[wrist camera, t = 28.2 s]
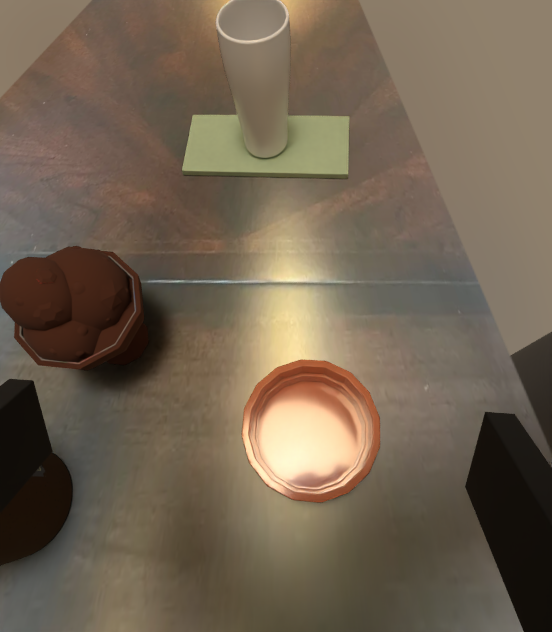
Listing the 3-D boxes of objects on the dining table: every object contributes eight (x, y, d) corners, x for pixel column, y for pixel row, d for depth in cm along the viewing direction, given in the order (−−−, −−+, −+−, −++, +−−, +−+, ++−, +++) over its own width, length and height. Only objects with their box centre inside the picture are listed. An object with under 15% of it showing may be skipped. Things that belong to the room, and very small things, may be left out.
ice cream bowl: (117, 414, 40) (20, 382, 27) (52, 342, 44) (-66, 280, 30) (195, 337, 43) (143, 271, 29) (127, 274, 46) (51, 187, 32)
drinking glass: (255, 115, 52) (237, -15, 38) (303, 132, 51) (302, 2, 37) (229, 154, 50) (200, 31, 36) (278, 172, 49) (267, 51, 35)
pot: (369, 378, 40) (379, 364, 35) (370, 503, 36) (380, 508, 31) (256, 370, 41) (249, 356, 36) (244, 491, 37) (235, 494, 32)
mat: (348, 121, 52) (349, 115, 51) (347, 178, 49) (348, 174, 48) (194, 119, 54) (192, 114, 53) (183, 175, 51) (181, 170, 50)
